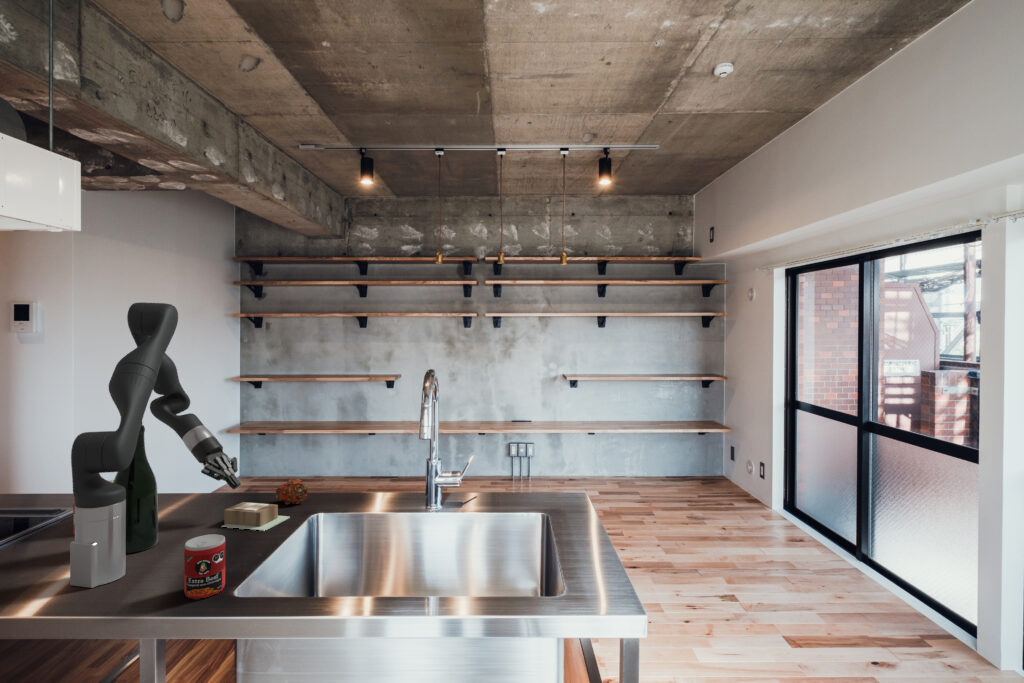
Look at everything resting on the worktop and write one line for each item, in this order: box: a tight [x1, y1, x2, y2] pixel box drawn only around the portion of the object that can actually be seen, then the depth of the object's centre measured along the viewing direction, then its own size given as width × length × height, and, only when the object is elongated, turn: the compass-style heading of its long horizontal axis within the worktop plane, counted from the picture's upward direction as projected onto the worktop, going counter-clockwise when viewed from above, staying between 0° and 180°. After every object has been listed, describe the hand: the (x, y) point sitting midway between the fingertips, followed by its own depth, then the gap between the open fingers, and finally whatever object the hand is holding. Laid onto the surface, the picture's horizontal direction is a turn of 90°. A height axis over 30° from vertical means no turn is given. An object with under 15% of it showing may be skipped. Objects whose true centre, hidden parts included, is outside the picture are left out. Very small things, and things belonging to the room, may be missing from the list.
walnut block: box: [223, 501, 279, 527], centre depth 162 cm, size 8×4×12 cm
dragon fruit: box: [275, 478, 311, 505], centre depth 182 cm, size 8×8×12 cm
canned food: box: [183, 533, 226, 600], centre depth 118 cm, size 8×8×11 cm
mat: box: [221, 515, 291, 532], centre depth 162 cm, size 12×14×1 cm
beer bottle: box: [113, 422, 159, 554], centre depth 142 cm, size 10×10×33 cm
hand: (237, 486), depth 163 cm, fingers closed
